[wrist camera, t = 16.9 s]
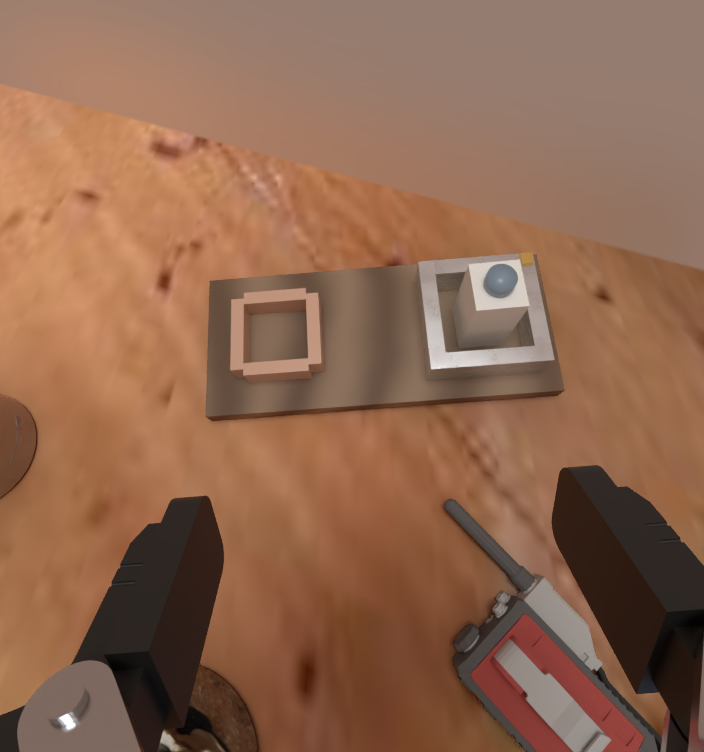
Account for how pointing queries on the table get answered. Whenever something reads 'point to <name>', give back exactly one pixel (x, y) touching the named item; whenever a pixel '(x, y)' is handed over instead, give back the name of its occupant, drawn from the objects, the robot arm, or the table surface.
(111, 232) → the table surface
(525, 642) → the walkie-talkie
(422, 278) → the frame
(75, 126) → the table surface
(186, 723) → the skull
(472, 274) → the plug
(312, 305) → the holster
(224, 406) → the panel
